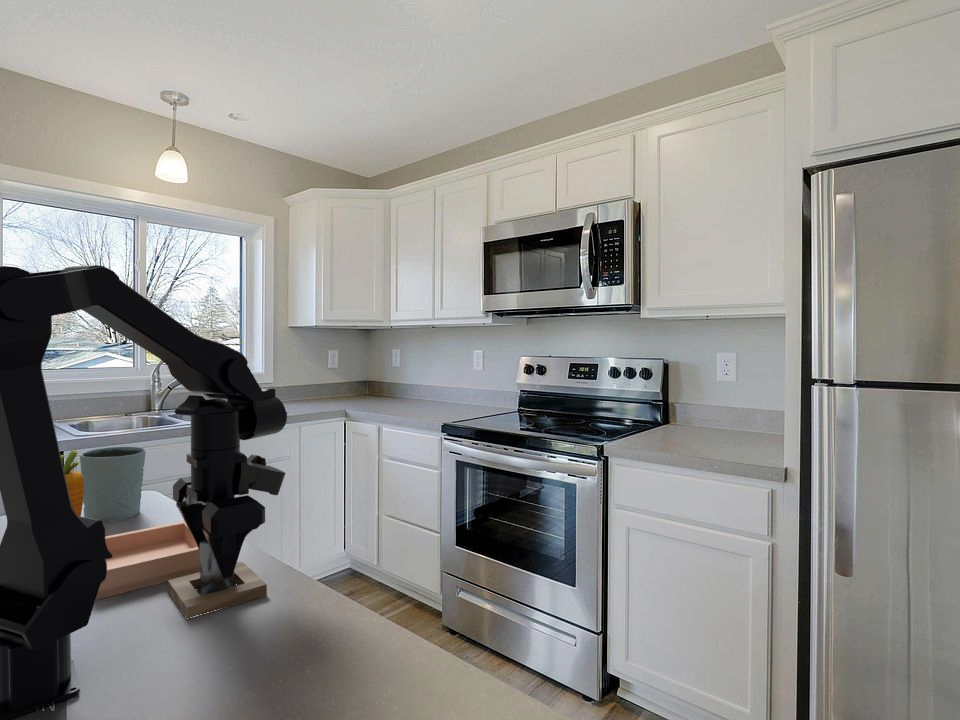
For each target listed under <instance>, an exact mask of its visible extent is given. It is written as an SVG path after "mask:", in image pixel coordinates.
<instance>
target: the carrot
mask: <svg viewBox="0 0 960 720" xmlns="http://www.w3.org/2000/svg"><path fill="white" fill-rule="evenodd" d="M60 455H61V459H62V464H63V468H64V473H65V478H66V482H67V487H68V491H69V496H70V500H71V505H72V508H73V510H74V512H75V513H76V514H77V515H78V516H81V515H82V510H83V507H84V504H83V493H84V479H83V476H82V474H81V471H72V470H74V469H75V468H76V467H77V466H78V465H79V464H80V462H79V461H76V462H74V461H75V458H76V457H77V456H78V451H77V450H76V449H75V450H74V449H73V450H71V451H70V452H69V453H68V455H67V458H66V459H65V457H66V456H65V455H64V454H60ZM64 461H65V462H64ZM81 517H82V516H81Z"/></svg>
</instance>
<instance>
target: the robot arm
mask: <svg viewBox="0 0 960 720" xmlns="http://www.w3.org/2000/svg"><path fill="white" fill-rule="evenodd" d="M80 310H82V311H83V312H85V313H87V314H88V315H90V316H91V317H93V318H94V319H96V320H98V321H99V322H101V323H102V324H103V325H106V327H109V328H111V329H112V330H113V331H115V332H117V333H118V334H120V335H122V336H123V337H124V338H126V339H128V340H130V341H131V342H132V343H134V344H136V345H137V346H139V347H140V348H142V349H144V350H145V351H146V352H148V353H150V354H152V355H154V356H155V357H157V358H158V359H159V360H161V361H162V362H163V363H164V364H165V366H167V369H168V370H169V373H170V374H171V375H170V376H172V377H173V378H174V379H175V380H176V381H177V382H178V383H179V384H180V385H181V386H183V388H185V389H186V390H187V391H188V392H191V393H194V394H202V395H194V394H192V395H191V394H190V395H188V396H187V398H186V399H185V400H184V401H183V402H182V403H181V404H180V405H178V406H177V408H175V410H174V414H175V415H178V416H179V415H180V416H190V453H186V463H187V464H189V465H190V476H184V477H180V478H179V479H178V480H176V482H175V483H173V485H172V499H173V501H175V502H176V503H175V505H176V508H177V510H179V513H180V514H181V517H182V519H183V521H185V523H186V525H187V527H188V529H189V531H190V532H191V534H192V536H193V538H194V541H195V543H196V545H197V547H198V549H199V551H200V542H201V541H202V540H204V539H207V542H208V544H209V546H210V549H211V551H212V554H213V556H214V558H215V561H216V563H217V566H218V568H219V570H220V572H221V575H222V577H223V578H228V577H231V576H233V573H234V570H235V567H236V563H238V560H239V556H240V553H241V550H242V547H243V544H244V542H245V539H246V537H247V536H248V535H249V534H250V533H251V532H252V531H253V530H257V529H258V528H259V527H260V526H261V525H263V524H265V523H266V507H265V506H264V505H263V504H262V503H260V502H259V501H258V500H256V499H254V498H253V497H251V496H250V495H248V494H250V492H249V491H250V490H253V491H258V492H264V493H269V495H270V496H271V495H272V496H278V495H279V493H280V490H281V487H282V485H283V482H284V479H285V475H286V472H285V471H283V470H281V469H279V468H276V467H274V466H271V465H267V462H266V458H265V457H263V456H261V455H257V454H251V455H249V456H248V457H247V456H246V454H244V453H242V451H241V447H240V446H241V441H247V440H252V439H256V438H262V437H264V436H265V437H266V436H271V435H275V434H278V433H280V432H281V431H283V429H284V427H285V426H286V423H287V419H288V412H287V410H286V407H285V405H284V403H283V402H282V400H281V399H279V397H277V396H276V388H272V387H270V388H269V387H267V388H266V387H262V388H261V386H260V385H259V383H258V380H257V379H256V378H255V375H254V374H253V372H252V371H251V369H250V368H249V366H248V363H249V362H248V361H249V360H248V358H246V356H245V355H244V354H243V353H242V352H240V351H238V350H236V349H234V348H232V347H230V346H228V345H225V344H224V343H221V342H218V341H214V340H210V339H208V338H204V337H202V336H200V335H198V334H196V333H194V332H193V331H191V329H189V328H187V326H185V325H183V324H182V323H180V322H179V321H178V320H176V319H175V318H174V317H172V316H171V315H169V314H168V313H166V312H165V311H164V310H162V309H161V308H159V306H157V305H155V304H154V303H153V302H151V301H150V300H148V299H147V298H146V297H145V296H143V295H141V293H139V292H138V291H136V290H135V289H134V288H132V287H130V286H129V285H128V284H126V282H124V281H122V279H120V276H119V275H118V274H117V273H116V272H115V271H114V270H112V269H110V268H108V267H106V266H104V265H97V264H93V265H91V264H90V265H73V266H72V265H71V266H68V267H65V268H63V269H57V270H48V271H38V272H30V271H28V270H25V269H23V268H21V267H20V268H19V267H18V266H9V265H8V266H7V265H1V266H0V496H1V500H2V505H3V507H4V513H5V516H6V528H5V530H4V534H3V536H2V539H1V541H0V720H9V719H13V718H15V717H17V716H18V717H19V716H20V715H23V714H27V713H29V712H31V711H34V710H35V711H36V710H38V709H41V708H43V707H47V706H50V705H52V704H56V703H57V702H61V701H64V700H66V699H67V700H68V699H69V698H73V697H75V696H77V695H79V694H80V692H81V691H80V690H81V689H80V687H81V686H80V683H79V679H78V678H79V677H78V675H77V670H76V666H75V662H74V660H73V659H72V641H71V640H72V639H71V634H72V633H74V632H76V631H78V630H80V629H83V628H84V627H87V625H88V624H89V622H90V618H91V615H92V612H93V610H94V606H95V604H96V600H97V599H96V597H97V593H98V590H99V587H100V585H101V583H102V582H103V581H104V580H105V579H106V575H107V562H106V559H111V558H112V554H111V553H110V552H109V551H108V549H107V546H106V542H105V537H106V528H105V527H106V526H105V525H104V523H103V522H102V521H101V520H97V519H92V518H86V517H84V516H78V515H77V514H76V513H75V512H74V510H73V508H72V505H71V500H70V496H69V491H68V487H67V482H66V478H65V473H64V463H63V464H62V459H61V455H62V454H61V451H60V448H59V447H60V446H59V442H58V438H57V437H58V436H57V433H56V428H55V423H54V418H53V415H52V414H53V413H52V411H51V406H50V401H49V396H48V393H47V388H46V383H45V378H44V374H43V368H42V367H43V366H42V364H43V360H44V358H45V354H46V353H47V348H48V347H49V344H50V341H51V338H52V335H53V329H52V328H53V324H52V323H53V322H52V321H53V320H52V317H54V316H59V315H64V314H70V313H74V312H77V311H80ZM203 395H204V396H206V397H207V398H209V399H206V398H205V397H204V396H203ZM237 495H238V496H237Z"/></svg>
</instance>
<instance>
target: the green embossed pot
mask: <svg viewBox="0 0 960 720" xmlns="http://www.w3.org/2000/svg"><path fill="white" fill-rule="evenodd" d="M146 453H147V451H146V449H145V448H143V447H138V446H115V447H113V446H111V447H102V448H95V449H90V450H87V451H83V452H81V453H80V454H79V461H80V462H79V464H80V473H81V474H82V476H83V479H84V493H83V517H86V518H92V519H97V520H101V521H102V522H103V524H108V523H114V522H121V521H124V520H128V519H131V518H134V517H136V516H137V515H138V514H139V513H140V511H141V500H142V489H143V488H142V487H143V480H144V478H143V477H144V472H145V471H144V467H145V460H146Z"/></svg>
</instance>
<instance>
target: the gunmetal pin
mask: <svg viewBox="0 0 960 720" xmlns="http://www.w3.org/2000/svg"><path fill="white" fill-rule="evenodd" d="M234 586H235V583H234V573H233V576H231V577H228V578H223V577H222V575H221V572H220V570H219V568H218V566H217V563H216V561H215V558H214V556H213V554H212V551H211V549H210V546H209V544H208V542H207V539H204V540H202V541H201V542H200V589H199V595H200V596H203V595H206V594H210V593H213V592H217V591H220V590H224V589H227V588H231V587H234Z"/></svg>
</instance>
